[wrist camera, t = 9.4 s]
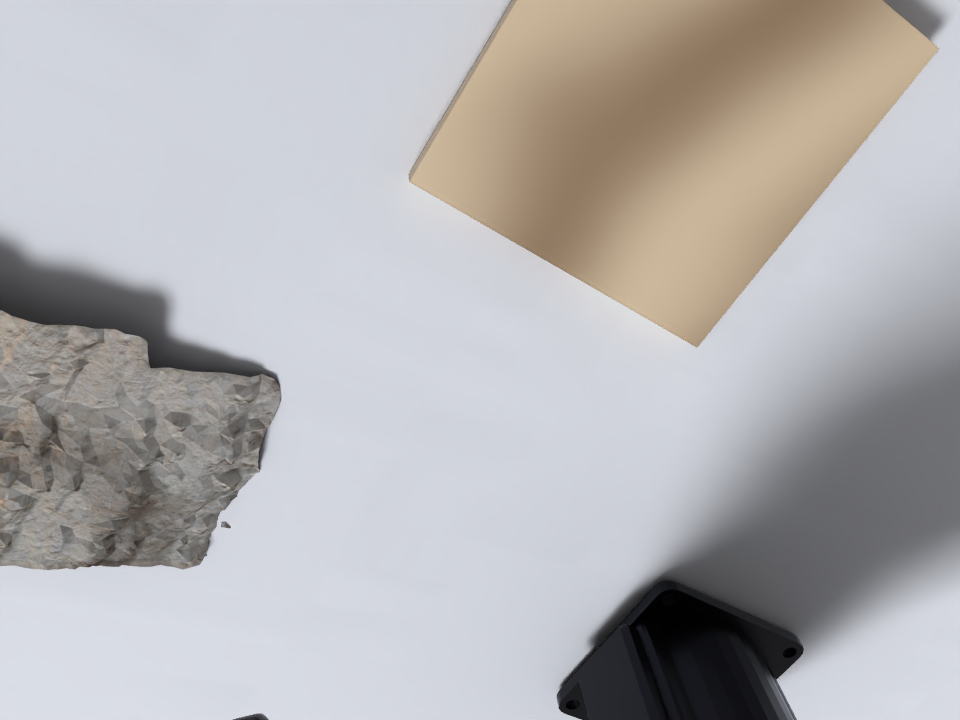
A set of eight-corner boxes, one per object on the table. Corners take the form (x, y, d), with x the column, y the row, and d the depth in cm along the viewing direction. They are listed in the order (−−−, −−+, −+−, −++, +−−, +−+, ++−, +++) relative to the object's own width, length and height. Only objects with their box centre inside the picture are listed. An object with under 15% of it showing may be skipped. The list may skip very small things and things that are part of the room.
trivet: (924, 45, 20) (939, 48, 19) (689, 337, 23) (696, 347, 22) (631, -202, 17) (639, -206, 16) (408, 174, 20) (409, 181, 19)
